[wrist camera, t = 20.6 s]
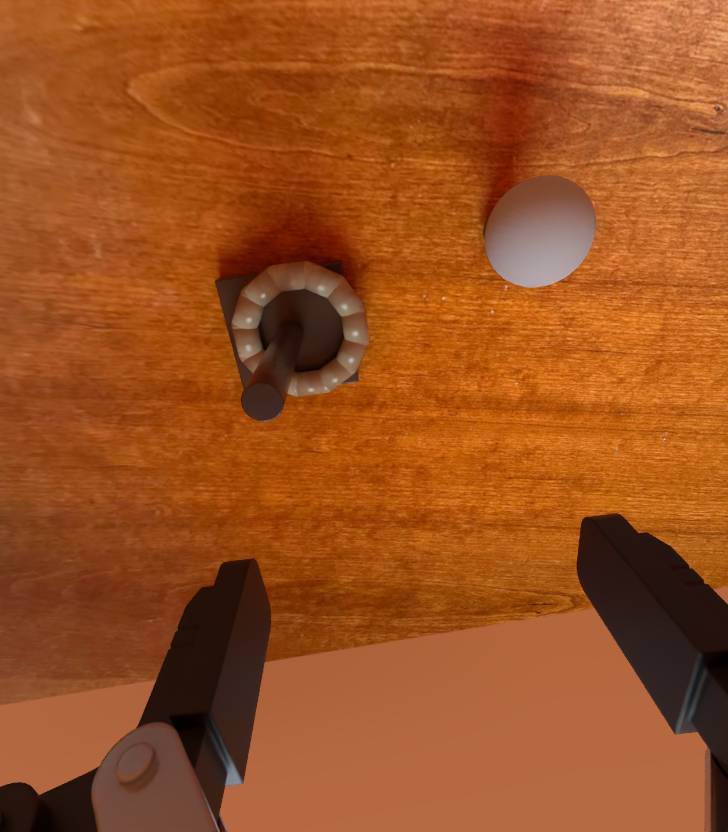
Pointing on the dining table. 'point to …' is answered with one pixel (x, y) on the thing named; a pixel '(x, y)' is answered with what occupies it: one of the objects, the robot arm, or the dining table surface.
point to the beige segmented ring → (319, 283)
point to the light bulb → (540, 231)
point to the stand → (284, 341)
